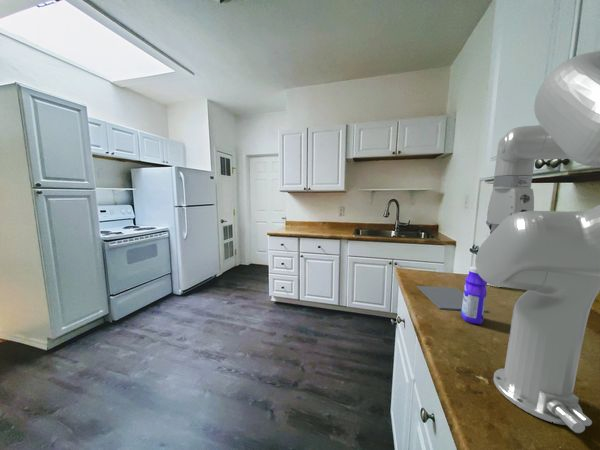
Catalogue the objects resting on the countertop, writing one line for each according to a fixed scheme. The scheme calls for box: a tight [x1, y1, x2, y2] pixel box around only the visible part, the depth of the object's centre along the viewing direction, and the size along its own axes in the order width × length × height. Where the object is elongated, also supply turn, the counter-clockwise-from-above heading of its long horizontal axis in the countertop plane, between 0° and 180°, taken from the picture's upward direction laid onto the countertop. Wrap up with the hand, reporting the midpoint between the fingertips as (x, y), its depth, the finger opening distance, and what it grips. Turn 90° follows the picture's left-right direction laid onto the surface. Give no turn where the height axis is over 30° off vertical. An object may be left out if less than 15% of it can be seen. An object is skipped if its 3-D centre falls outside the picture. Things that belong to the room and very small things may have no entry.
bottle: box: [460, 265, 487, 325], centre depth 75 cm, size 7×6×17 cm
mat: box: [416, 285, 489, 313], centre depth 92 cm, size 20×16×1 cm
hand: (502, 250), depth 64 cm, fingers open, 3 cm apart
